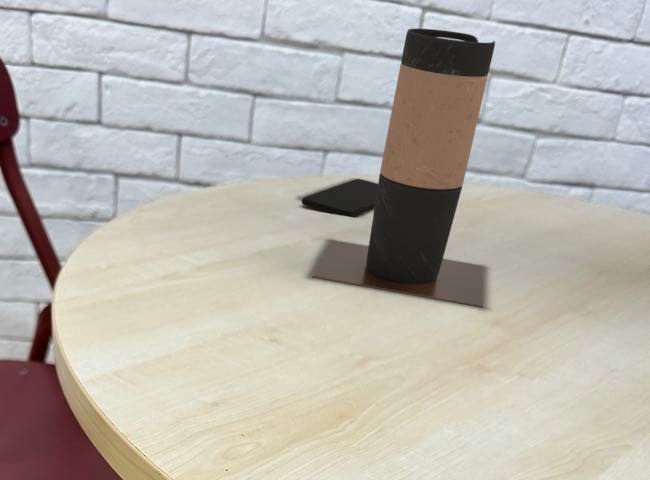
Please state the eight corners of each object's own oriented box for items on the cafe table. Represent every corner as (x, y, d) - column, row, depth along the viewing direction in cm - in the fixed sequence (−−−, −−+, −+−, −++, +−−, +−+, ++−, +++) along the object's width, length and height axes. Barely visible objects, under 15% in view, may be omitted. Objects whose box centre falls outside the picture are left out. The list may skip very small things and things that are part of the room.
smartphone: (404, 190, 109) (350, 212, 98) (403, 197, 109) (349, 219, 99) (357, 178, 111) (300, 197, 101) (356, 184, 112) (298, 204, 101)
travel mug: (354, 273, 81) (396, 31, 69) (374, 251, 87) (416, 25, 75) (432, 290, 79) (489, 45, 67) (447, 267, 85) (502, 38, 73)
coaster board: (481, 275, 87) (483, 265, 87) (480, 316, 78) (483, 306, 77) (329, 249, 89) (330, 239, 89) (310, 286, 80) (311, 275, 79)
